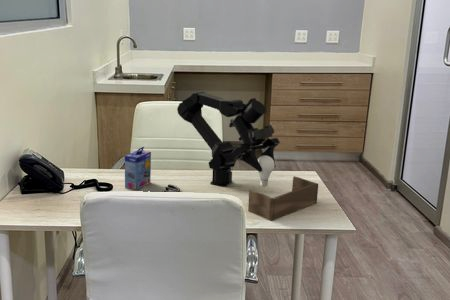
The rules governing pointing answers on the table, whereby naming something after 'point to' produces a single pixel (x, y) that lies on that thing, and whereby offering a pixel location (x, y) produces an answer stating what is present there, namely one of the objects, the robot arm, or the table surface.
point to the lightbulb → (265, 169)
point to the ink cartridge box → (137, 169)
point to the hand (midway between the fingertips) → (267, 169)
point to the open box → (284, 200)
